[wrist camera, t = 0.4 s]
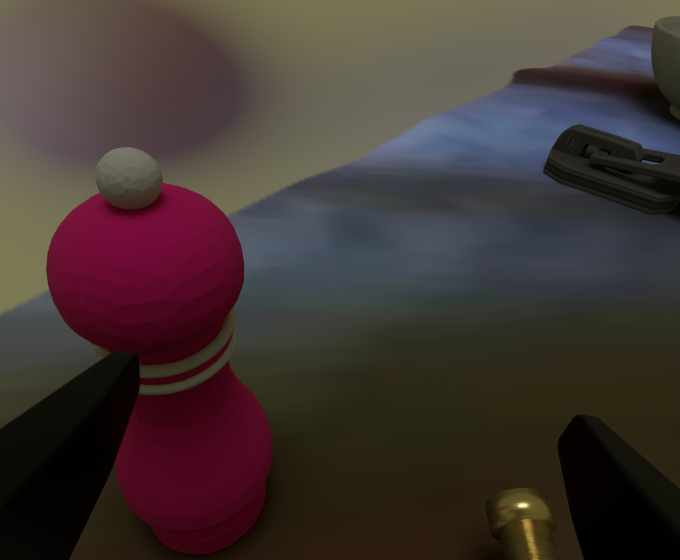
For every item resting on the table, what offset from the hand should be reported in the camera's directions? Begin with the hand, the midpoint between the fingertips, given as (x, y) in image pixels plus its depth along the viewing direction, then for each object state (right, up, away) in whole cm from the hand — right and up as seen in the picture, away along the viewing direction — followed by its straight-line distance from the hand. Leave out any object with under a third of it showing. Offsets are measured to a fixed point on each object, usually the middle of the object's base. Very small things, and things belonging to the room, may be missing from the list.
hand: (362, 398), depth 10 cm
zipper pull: (+35, +11, +45) cm, 58 cm away
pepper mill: (-8, -9, +17) cm, 20 cm away
